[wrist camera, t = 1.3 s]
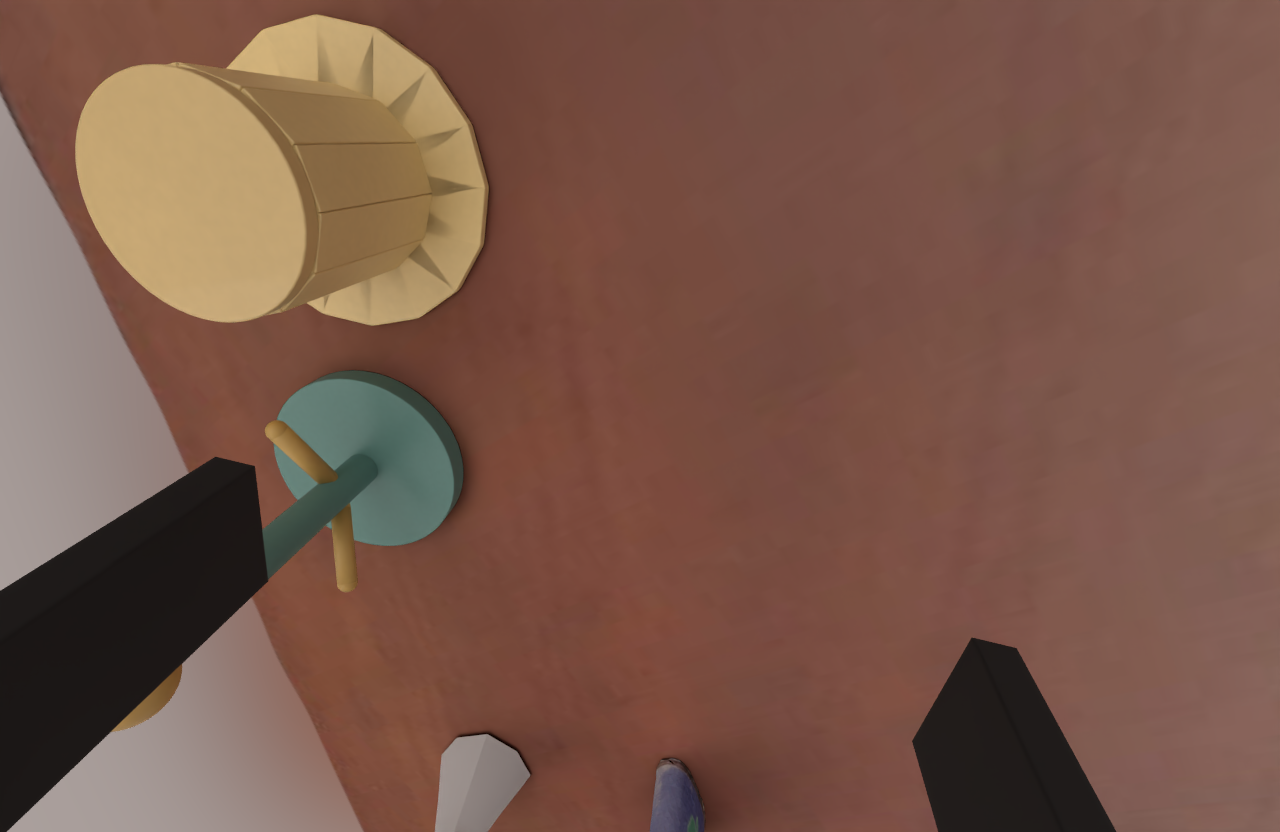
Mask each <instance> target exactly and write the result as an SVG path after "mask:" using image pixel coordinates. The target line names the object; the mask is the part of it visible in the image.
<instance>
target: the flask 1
mask: <svg viewBox="0 0 1280 832" xmlns="http://www.w3.org/2000/svg"><path fill="white" fill-rule="evenodd" d="M529 777H530V774H529V772H528V770H527V768H526V767H525V765H524V763H523V761H522V759H521V758H520V756H519V754H518V752H517V751H515V750H514V749H512V748H510V747H508V746H507V745H505V744H503V743H502V742H500V741H498V740H496V739H495V738H493V737H491V736H490V735H488V734H484V735H476V736H467V737H459V738H456V739H455V740H454V741H453V743H452V744H451V745H450V746H449V747H448V748H447V749H446V751H445V752H444V753H443V754H442V758H441V769H440V784H439V798H438V807H437V817H436V826H435V832H488V830H489V829H490V828H491V826H492V825H493V824H494V822H495V821H496V819H497V818H498V817H499V815H500V814H501V813H502V811H503V810H504V809H505V807H506V806H507V805H508V804H509V802H510V801H511V800H512V799H513V797H514V796H515V795H516V794H517V792H518V791H519V790H520V788H521V787H522V786H523V785H524V783H525V782H526V781H527V779H528V778H529Z"/></svg>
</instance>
